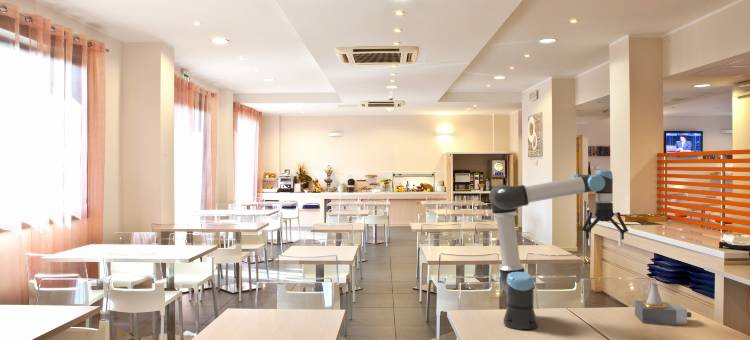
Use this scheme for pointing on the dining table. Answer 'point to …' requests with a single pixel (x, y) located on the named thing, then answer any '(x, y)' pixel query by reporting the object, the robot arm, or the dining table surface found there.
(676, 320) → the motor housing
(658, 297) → the flask
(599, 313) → the dining table surface
